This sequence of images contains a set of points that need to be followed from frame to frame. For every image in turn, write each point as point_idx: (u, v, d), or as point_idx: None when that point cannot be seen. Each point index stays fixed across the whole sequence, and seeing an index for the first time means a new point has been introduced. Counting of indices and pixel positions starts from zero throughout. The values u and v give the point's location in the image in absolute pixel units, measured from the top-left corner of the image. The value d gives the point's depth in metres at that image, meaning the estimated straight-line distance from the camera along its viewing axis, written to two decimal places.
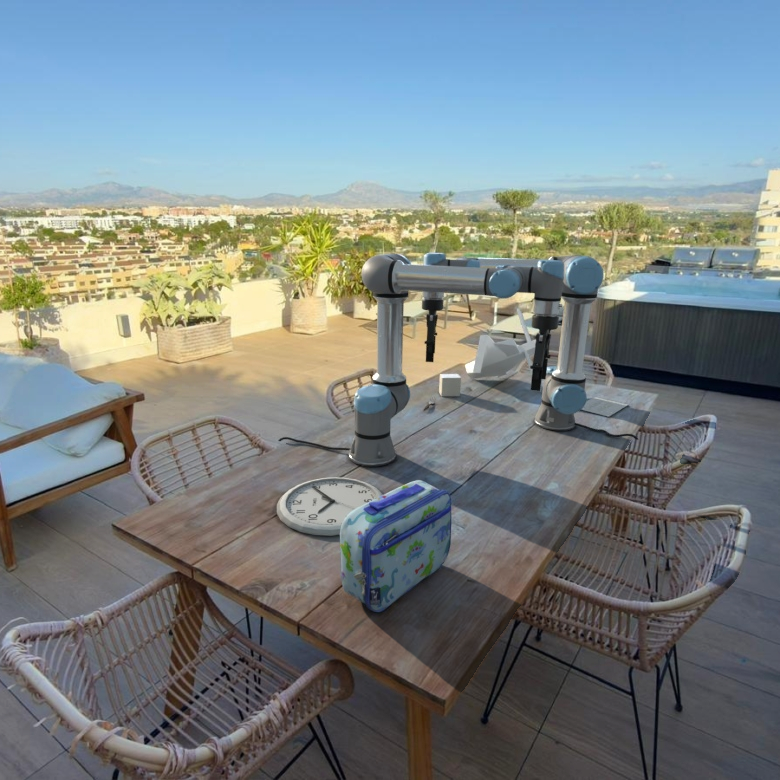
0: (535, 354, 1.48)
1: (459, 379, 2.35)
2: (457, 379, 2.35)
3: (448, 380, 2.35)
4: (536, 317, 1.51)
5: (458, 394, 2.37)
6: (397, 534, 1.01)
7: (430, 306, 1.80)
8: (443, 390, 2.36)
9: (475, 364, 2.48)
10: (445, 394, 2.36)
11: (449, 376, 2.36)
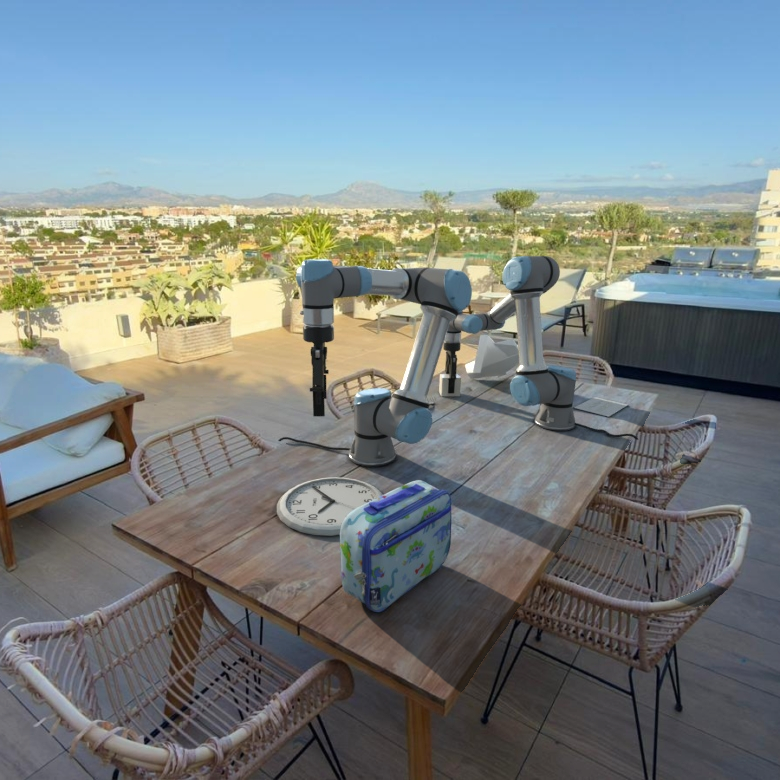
0: None
1: (459, 379, 2.35)
2: (457, 379, 2.35)
3: (448, 380, 2.35)
4: None
5: (458, 394, 2.37)
6: (397, 534, 1.01)
7: (452, 348, 2.30)
8: (443, 390, 2.36)
9: (475, 364, 2.48)
10: (445, 394, 2.36)
11: None
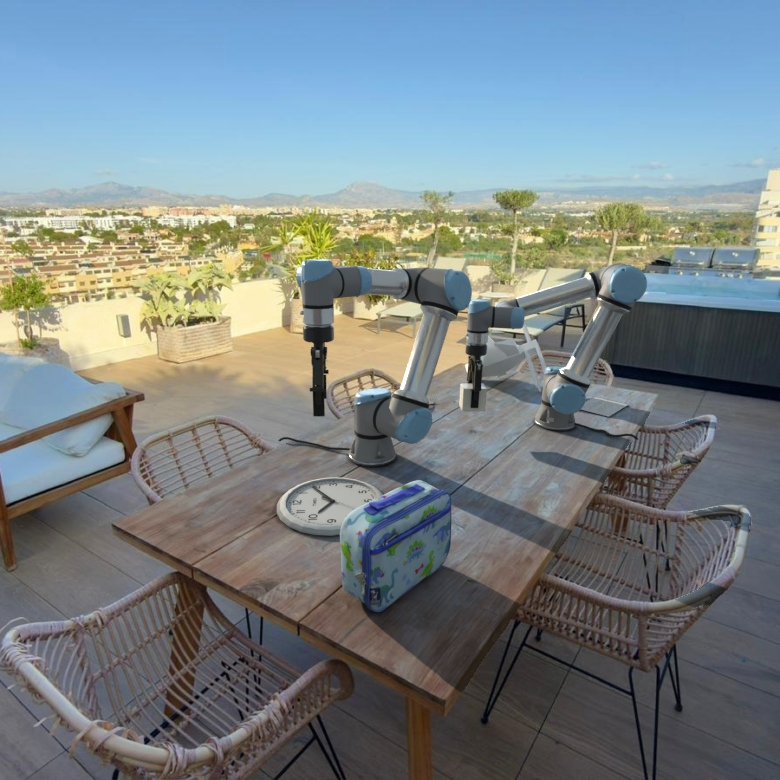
0: None
1: (484, 390, 1.89)
2: (482, 390, 1.89)
3: (471, 391, 1.89)
4: None
5: (483, 409, 1.91)
6: (397, 534, 1.01)
7: (477, 352, 1.84)
8: (464, 404, 1.90)
9: None
10: (467, 409, 1.91)
11: (472, 386, 1.91)
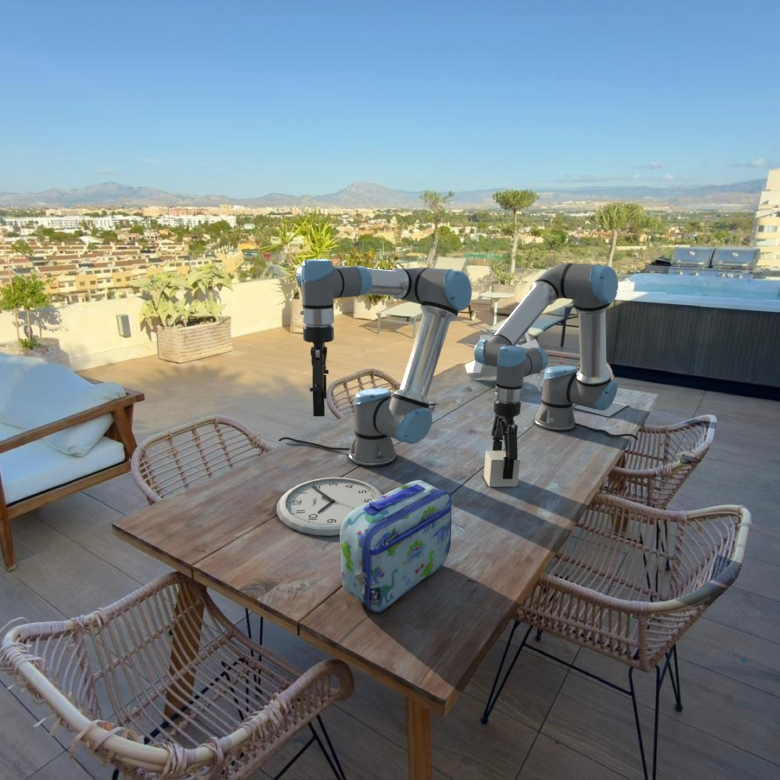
0: None
1: (517, 462, 1.53)
2: (514, 462, 1.53)
3: (501, 463, 1.52)
4: None
5: (515, 483, 1.55)
6: (397, 534, 1.01)
7: (509, 412, 1.47)
8: (492, 478, 1.54)
9: (475, 364, 2.48)
10: (495, 484, 1.54)
11: (501, 456, 1.54)
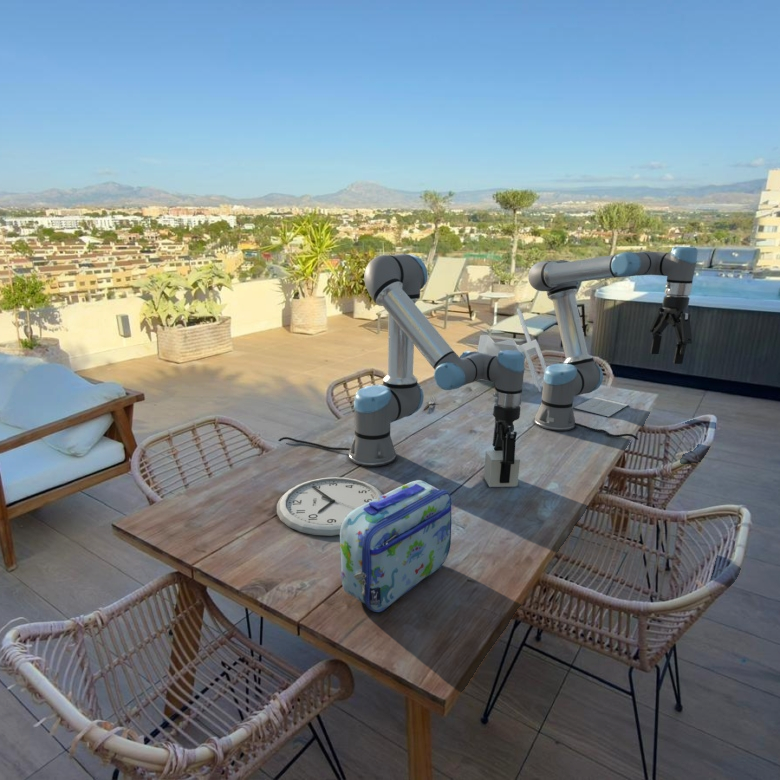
0: None
1: (517, 462, 1.53)
2: (514, 462, 1.53)
3: None
4: None
5: (515, 483, 1.55)
6: (397, 534, 1.01)
7: (681, 304, 1.69)
8: (492, 478, 1.54)
9: None
10: (495, 484, 1.54)
11: (501, 456, 1.54)
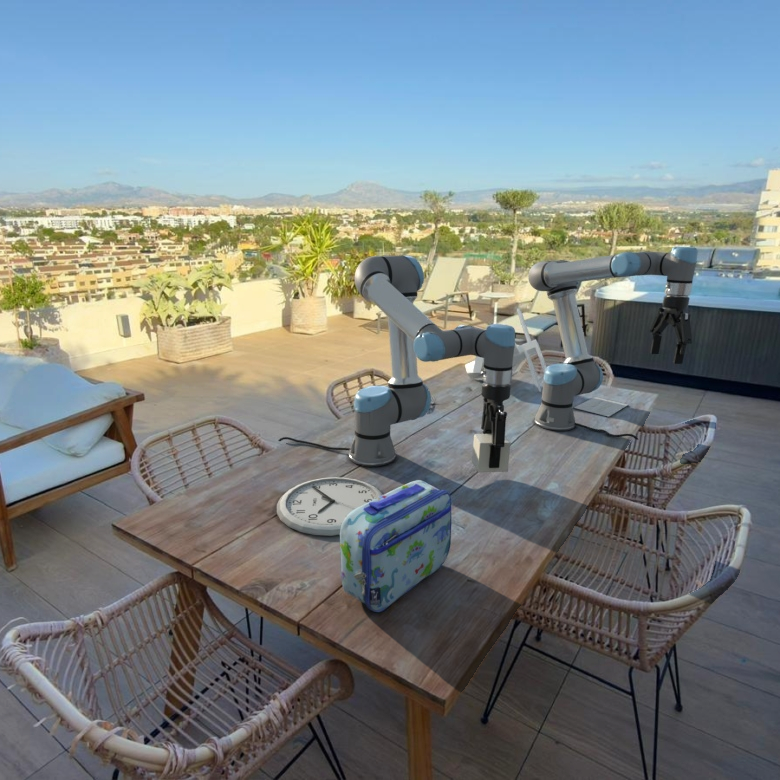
0: None
1: (507, 445, 1.42)
2: (504, 445, 1.42)
3: None
4: None
5: (505, 468, 1.44)
6: (397, 534, 1.01)
7: (681, 304, 1.69)
8: (481, 463, 1.43)
9: (475, 364, 2.48)
10: (484, 469, 1.44)
11: (490, 439, 1.43)
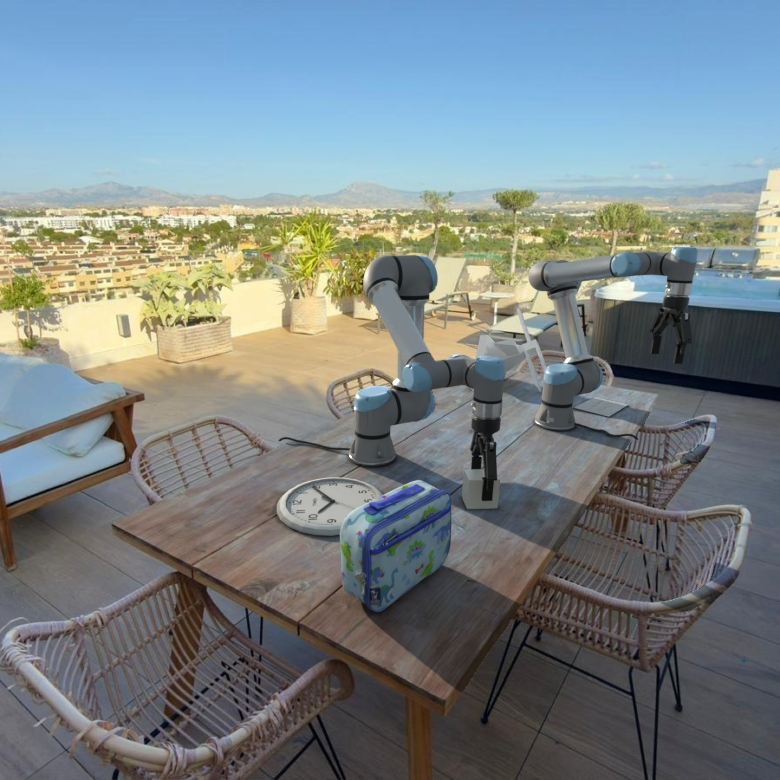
0: None
1: (497, 482, 1.40)
2: (494, 482, 1.40)
3: (479, 483, 1.40)
4: None
5: (495, 505, 1.42)
6: (397, 534, 1.01)
7: (681, 304, 1.69)
8: (470, 500, 1.41)
9: None
10: (473, 506, 1.42)
11: (480, 476, 1.42)
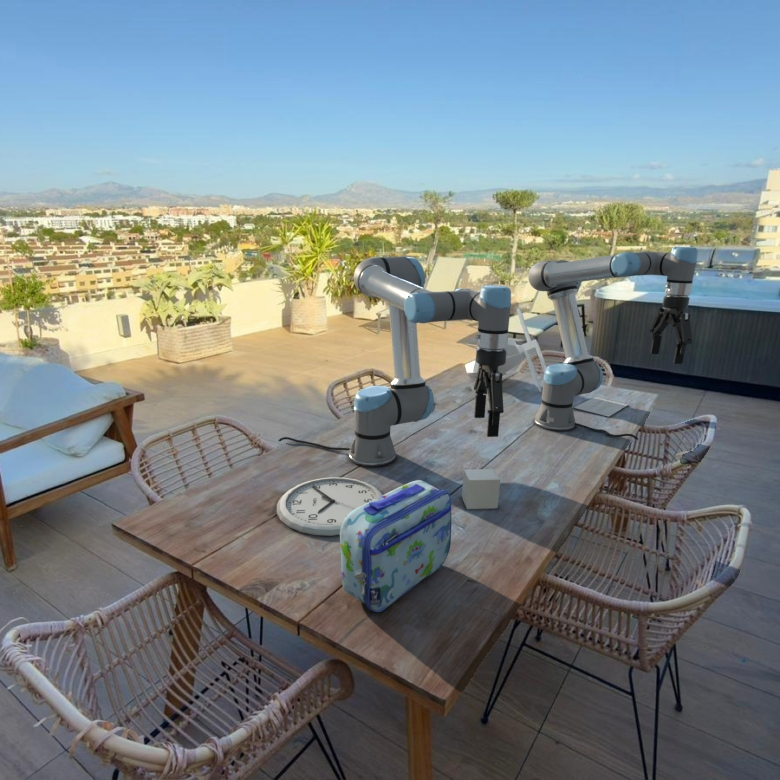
0: None
1: (497, 482, 1.40)
2: (494, 482, 1.40)
3: (479, 483, 1.40)
4: None
5: (495, 505, 1.42)
6: (397, 534, 1.01)
7: (681, 304, 1.69)
8: (470, 500, 1.41)
9: (475, 364, 2.48)
10: (473, 506, 1.42)
11: (480, 476, 1.42)
